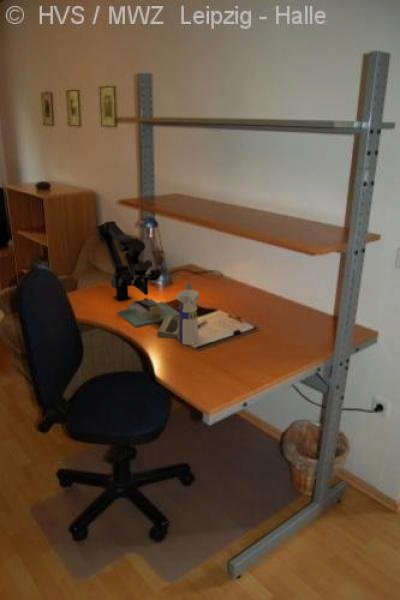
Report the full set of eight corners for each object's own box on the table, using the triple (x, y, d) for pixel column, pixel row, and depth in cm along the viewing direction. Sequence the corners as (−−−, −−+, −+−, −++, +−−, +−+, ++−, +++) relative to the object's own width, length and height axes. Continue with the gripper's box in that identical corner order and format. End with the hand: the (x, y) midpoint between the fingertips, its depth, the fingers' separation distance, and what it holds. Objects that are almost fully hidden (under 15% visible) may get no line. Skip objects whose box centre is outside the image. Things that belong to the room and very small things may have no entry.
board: (117, 313, 206) (117, 311, 206) (161, 303, 217) (161, 301, 217) (135, 327, 192) (135, 325, 192) (181, 316, 203) (181, 314, 203)
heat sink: (129, 311, 206) (128, 299, 204) (151, 306, 212) (150, 294, 210) (144, 322, 194) (144, 310, 192) (168, 316, 200) (167, 304, 198)
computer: (177, 339, 183) (177, 331, 181) (157, 338, 184) (156, 330, 182) (184, 323, 197) (184, 316, 196) (165, 322, 198) (165, 315, 197)
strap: (137, 302, 206) (137, 300, 206) (143, 301, 208) (143, 299, 208) (150, 307, 197) (150, 306, 196) (156, 306, 198) (156, 304, 198)
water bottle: (204, 341, 180) (204, 279, 171) (185, 346, 175) (184, 283, 167) (193, 333, 186) (192, 273, 177) (174, 338, 182) (172, 277, 173)
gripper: (119, 257, 194) (132, 290, 189) (159, 250, 203) (172, 282, 199) (112, 270, 203) (124, 302, 198) (151, 263, 212) (163, 293, 208)
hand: (146, 294), depth 200 cm, fingers closed
